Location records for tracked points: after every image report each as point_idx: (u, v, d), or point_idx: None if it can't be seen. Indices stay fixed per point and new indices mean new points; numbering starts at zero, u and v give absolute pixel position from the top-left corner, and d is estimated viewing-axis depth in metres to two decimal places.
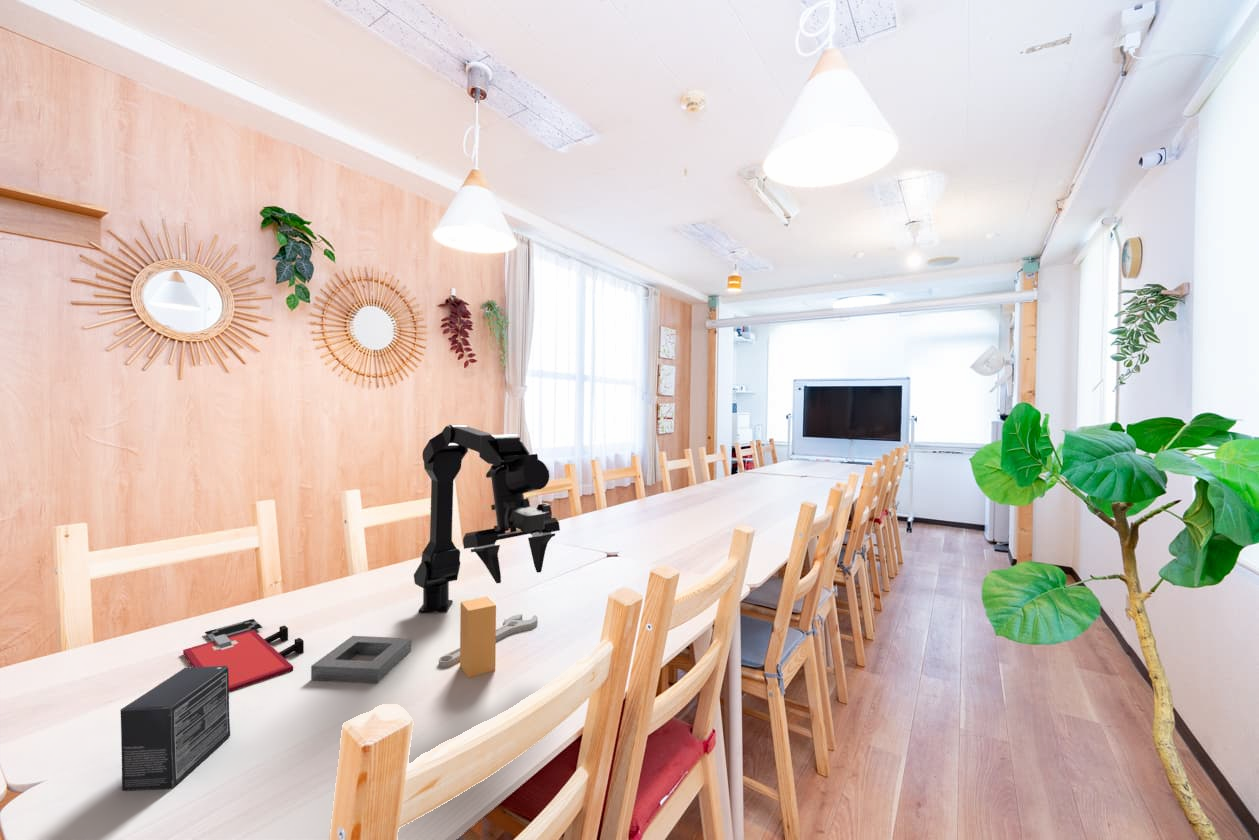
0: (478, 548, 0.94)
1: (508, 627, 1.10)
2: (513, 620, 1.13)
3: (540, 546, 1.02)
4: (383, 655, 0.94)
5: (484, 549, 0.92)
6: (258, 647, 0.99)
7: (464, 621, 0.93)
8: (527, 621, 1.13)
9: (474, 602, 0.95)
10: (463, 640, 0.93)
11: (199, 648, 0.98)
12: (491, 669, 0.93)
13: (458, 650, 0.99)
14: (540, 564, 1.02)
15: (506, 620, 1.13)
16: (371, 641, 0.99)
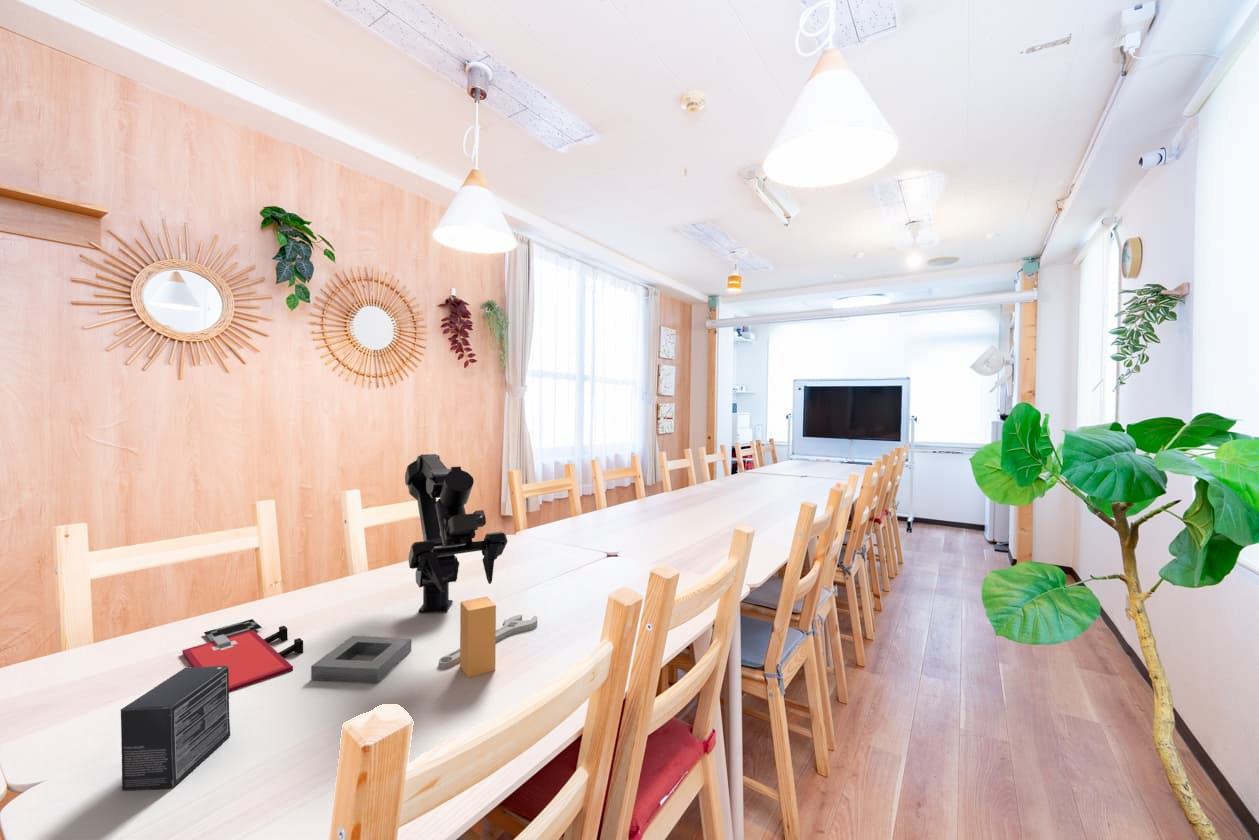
0: (419, 560, 1.00)
1: (508, 628, 1.09)
2: (512, 621, 1.13)
3: (488, 557, 1.05)
4: (383, 655, 0.94)
5: (421, 556, 0.98)
6: (258, 648, 0.99)
7: (464, 621, 0.93)
8: (527, 621, 1.12)
9: (474, 602, 0.95)
10: (463, 640, 0.93)
11: (198, 649, 0.98)
12: (491, 669, 0.93)
13: (458, 651, 0.99)
14: (490, 574, 1.03)
15: (506, 620, 1.13)
16: (371, 641, 0.99)
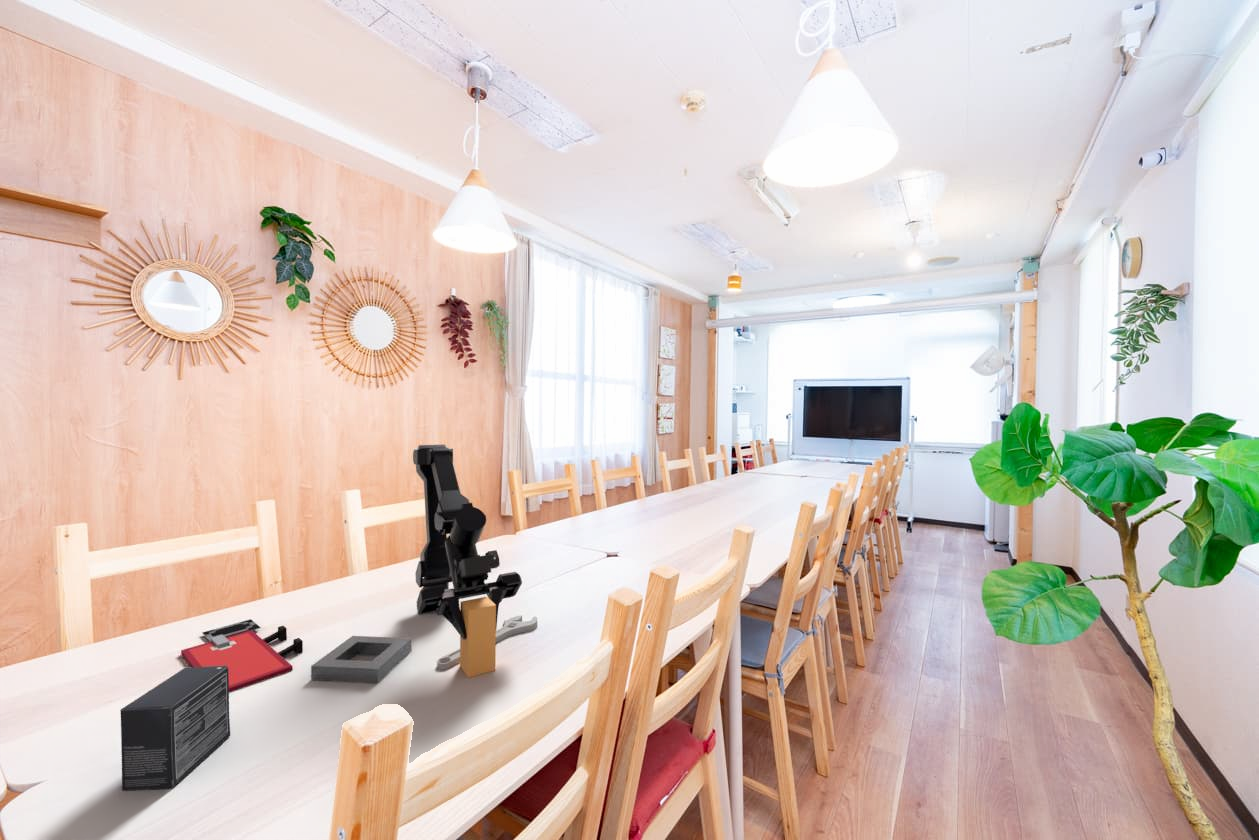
0: (439, 605, 0.94)
1: (507, 628, 1.09)
2: (512, 621, 1.12)
3: None
4: (383, 655, 0.94)
5: (442, 601, 0.92)
6: (257, 647, 0.99)
7: (464, 621, 0.93)
8: (527, 622, 1.12)
9: (474, 602, 0.95)
10: (463, 640, 0.93)
11: (197, 649, 0.98)
12: (491, 669, 0.93)
13: (457, 652, 0.99)
14: None
15: (506, 621, 1.12)
16: (371, 641, 0.99)
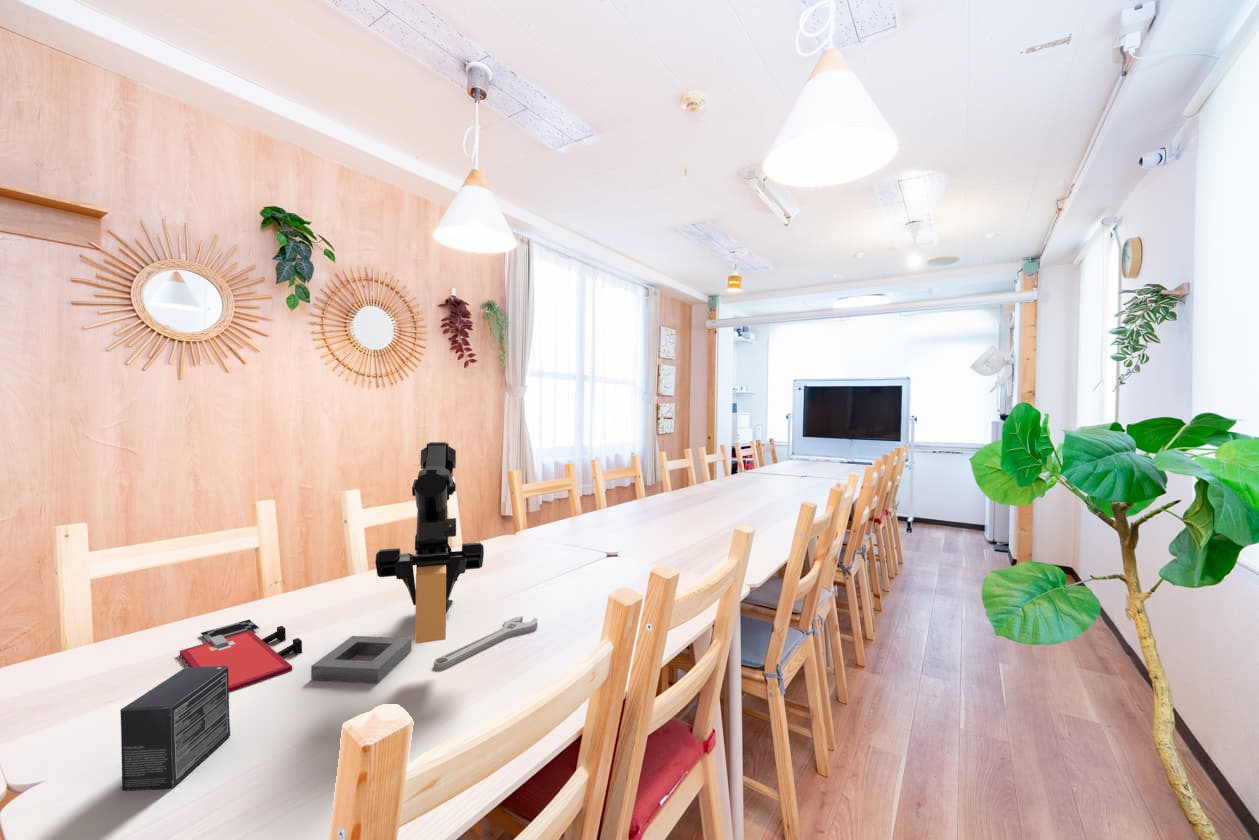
0: None
1: (507, 629, 1.08)
2: (512, 622, 1.12)
3: (448, 571, 0.95)
4: (383, 655, 0.94)
5: (395, 564, 0.92)
6: (256, 648, 0.99)
7: None
8: (526, 624, 1.11)
9: (429, 568, 0.93)
10: None
11: (196, 649, 0.98)
12: (441, 638, 0.91)
13: (454, 652, 0.98)
14: (447, 590, 0.93)
15: (506, 622, 1.12)
16: (371, 641, 0.99)
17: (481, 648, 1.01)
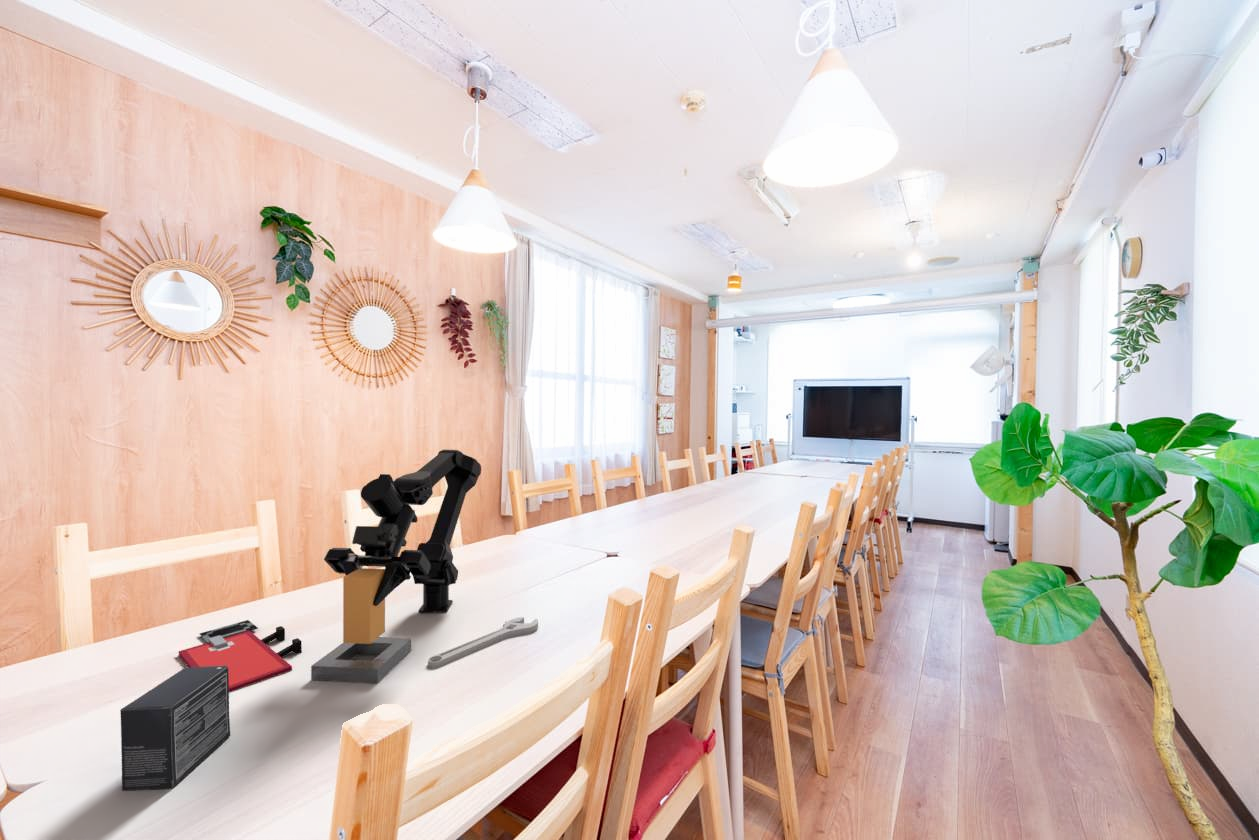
0: None
1: (506, 630, 1.08)
2: (513, 623, 1.11)
3: None
4: (383, 655, 0.94)
5: (339, 563, 0.97)
6: (255, 648, 0.99)
7: None
8: (526, 625, 1.11)
9: (365, 571, 0.95)
10: None
11: (195, 650, 0.98)
12: (366, 641, 0.92)
13: (450, 651, 0.99)
14: (376, 595, 0.94)
15: (506, 622, 1.12)
16: None
17: (477, 648, 1.01)
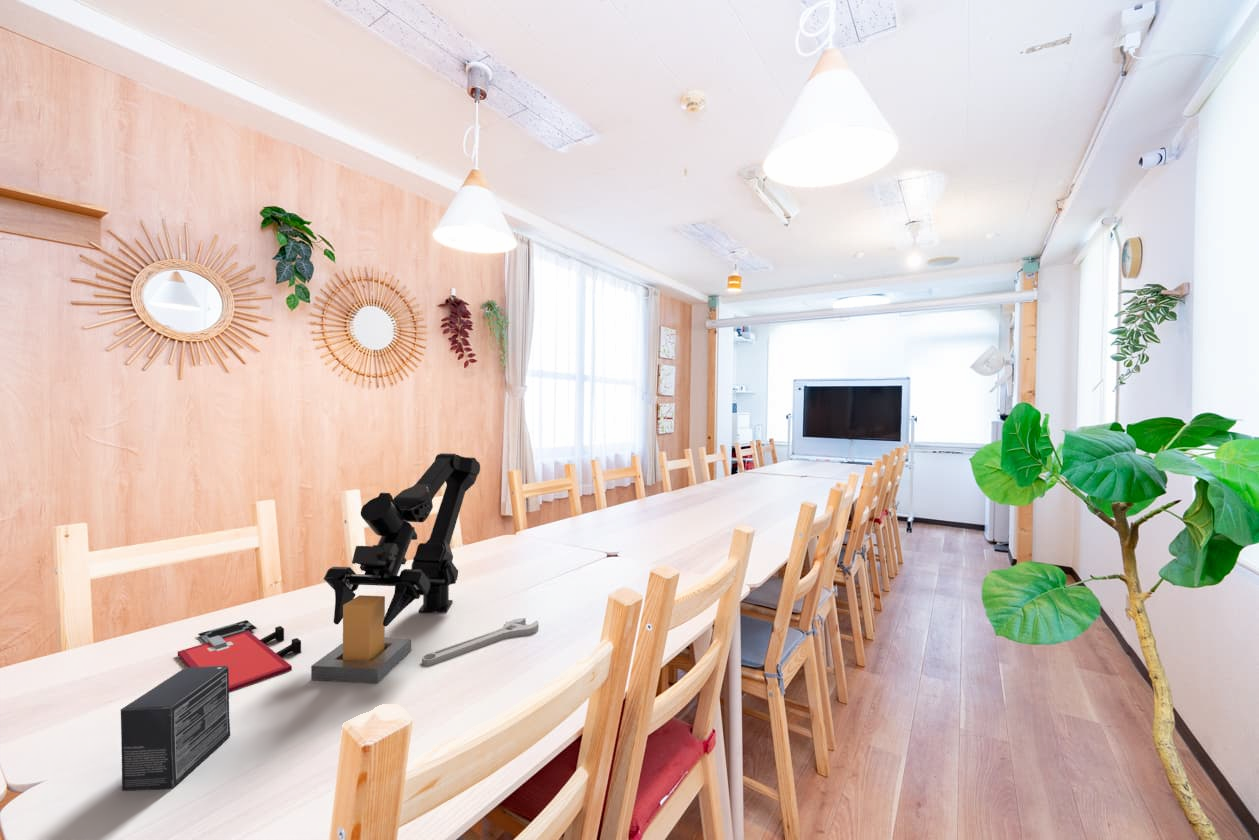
0: None
1: (504, 630, 1.08)
2: (513, 624, 1.11)
3: None
4: (383, 655, 0.94)
5: (329, 582, 0.97)
6: (255, 648, 0.99)
7: None
8: (526, 626, 1.10)
9: (365, 598, 0.96)
10: None
11: (194, 650, 0.98)
12: None
13: (445, 649, 1.00)
14: (386, 615, 0.94)
15: (507, 623, 1.11)
16: None
17: (473, 647, 1.02)
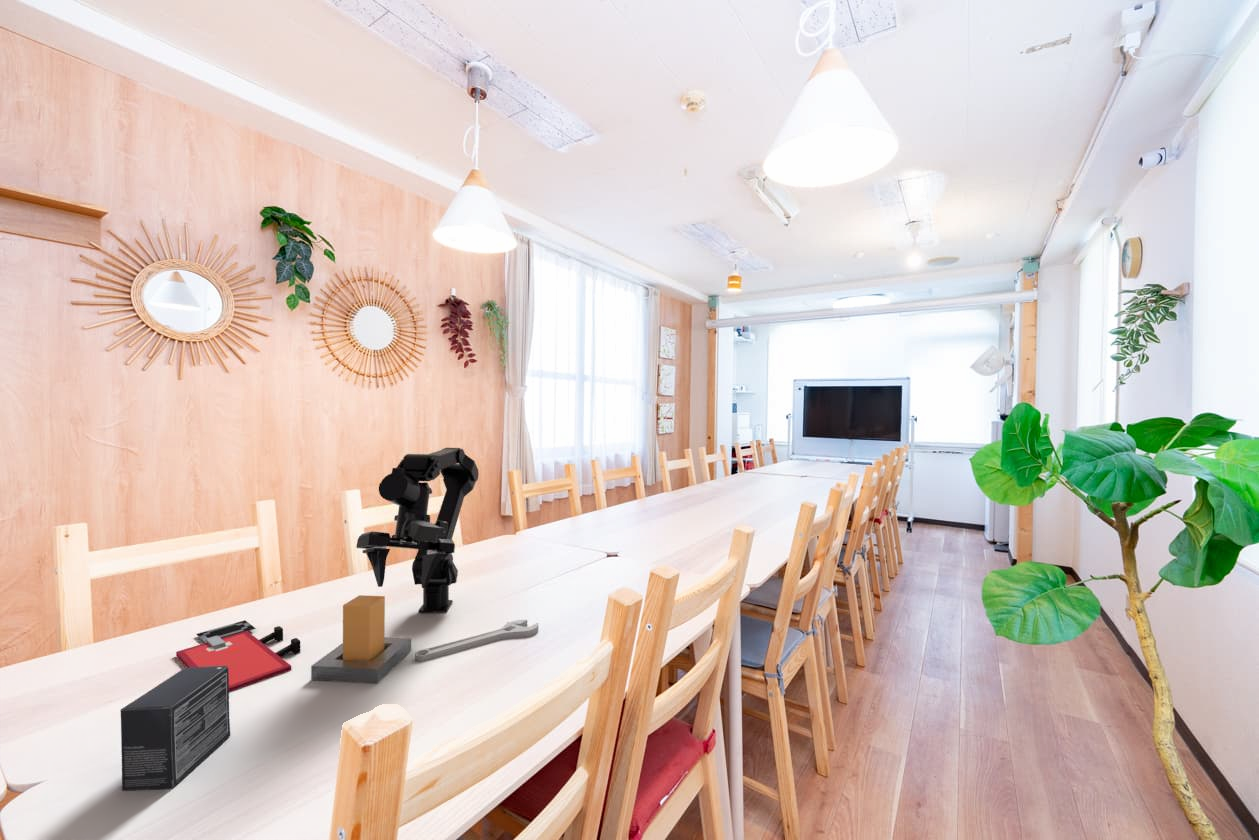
0: (369, 548, 1.00)
1: (502, 631, 1.08)
2: (513, 625, 1.11)
3: (431, 563, 1.08)
4: (383, 655, 0.94)
5: (374, 549, 0.99)
6: (254, 648, 0.99)
7: None
8: (524, 628, 1.09)
9: (364, 598, 0.96)
10: None
11: (193, 650, 0.98)
12: None
13: (440, 646, 1.01)
14: (426, 580, 1.07)
15: (507, 623, 1.11)
16: None
17: (468, 646, 1.02)
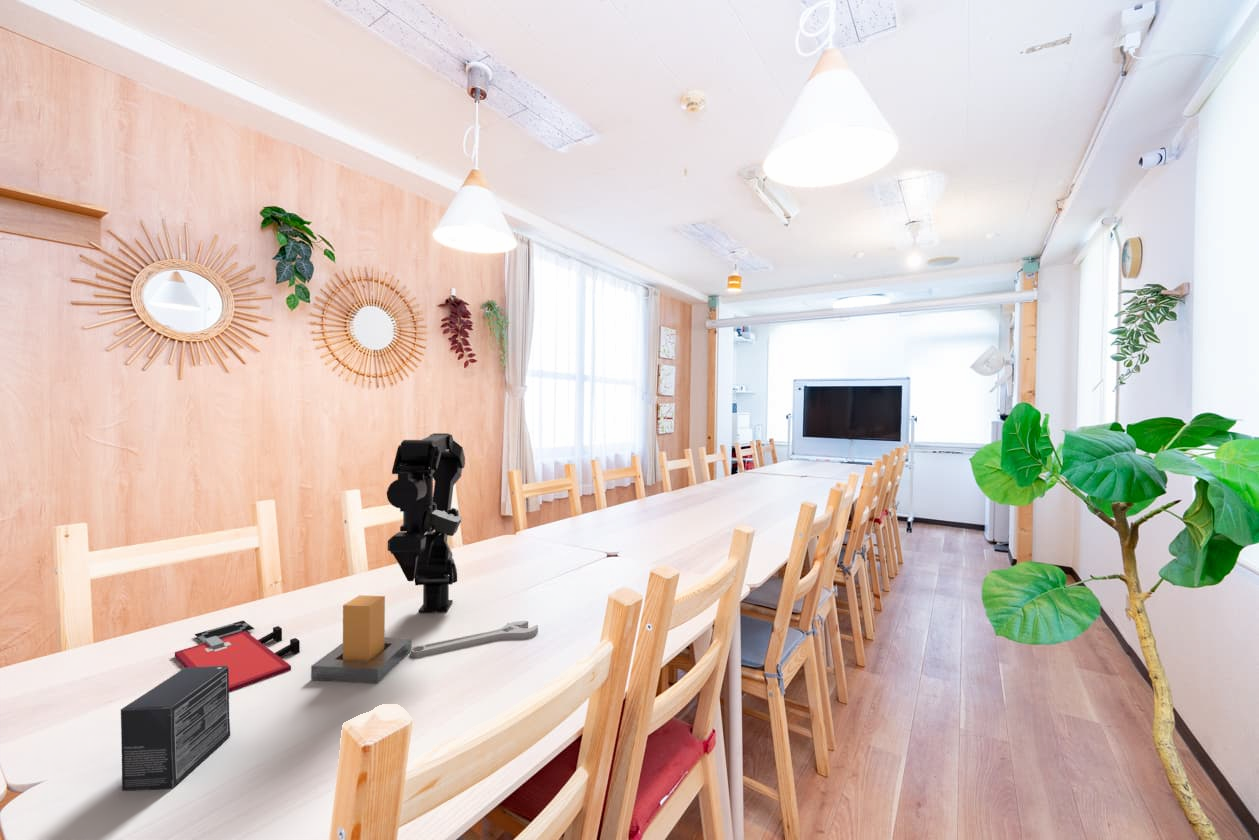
0: (406, 551, 0.99)
1: (500, 632, 1.07)
2: (512, 625, 1.10)
3: (430, 544, 1.12)
4: (383, 655, 0.94)
5: (418, 552, 1.00)
6: (253, 648, 0.99)
7: None
8: (523, 630, 1.08)
9: (365, 598, 0.96)
10: None
11: (191, 650, 0.97)
12: None
13: (436, 643, 1.02)
14: (427, 560, 1.12)
15: (507, 624, 1.11)
16: None
17: (463, 645, 1.03)
